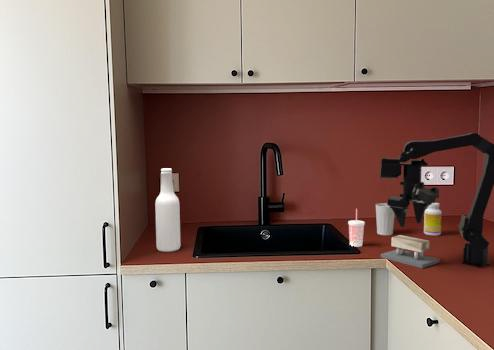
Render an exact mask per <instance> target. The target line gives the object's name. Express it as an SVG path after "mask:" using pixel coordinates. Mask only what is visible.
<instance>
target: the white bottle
mask: <svg viewBox="0 0 494 350" xmlns="http://www.w3.org/2000/svg"><path fill="white" fill-rule="evenodd" d="M160 171H161V172H160V174H161V175H160V177H161V178H160V192H159V195H158V196H157V197H156V199H155V202H154V205H155V238H156V239H155V240H156V241H155V243H156V249H157V250H158V251H159V252H164V253H166V252H167V253H169V252H176V251H178V250H180V248H181V246H182V245H181V216H180V213H181V211H180V210H181V208H180V204H181V203H180V200H179V197H178V196H177V195H176V193H175V192H174V183H173V169H172V168H168V167H167V168H166V167H165V168H161V169H160Z"/></svg>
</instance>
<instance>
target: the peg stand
mask: <svg viewBox="0 0 494 350" xmlns="http://www.w3.org/2000/svg"><path fill="white" fill-rule="evenodd" d="M395 248H396V249H393V250H390V251H386V252H384V253H380V258H381V259H386V260H389V261H392V262H396V263H400V264H404V265H408V266H411V267H415V268H419V269H424V268H428V267H430V266H434V265H436V264H440V258H437V257H433V256H429V255H425V254H424V252H417V251H409V250H406V249H403V248H398V247H395Z"/></svg>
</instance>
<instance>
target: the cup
mask: <svg viewBox="0 0 494 350" xmlns="http://www.w3.org/2000/svg"><path fill="white" fill-rule="evenodd" d="M375 215H376V216H375V217H376V219H375V220H376V233H377V235H380V236H391V235H393V234H394V225H395V224H394V223H395V214H394V212H393V210H392V208H390V206H388V205H387V202H385V203H383V202H382V203H376V204H375Z"/></svg>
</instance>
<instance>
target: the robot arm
mask: <svg viewBox="0 0 494 350" xmlns="http://www.w3.org/2000/svg"><path fill="white" fill-rule="evenodd" d="M471 146H472V147H473V148H474V149H476V150H478V151H479V152H480V153H482V154H483V160H482V161H483V163H482V165H483V166H482V167H483V170H482V174H481V175H480V176H481V177H480V180H479V182H478V185H477V189H476V192H475V194H474V197H473V201H472V204H471V207H470V209H469V212H468V213H467V215H464V214H461V215H460V216H461V217H460V222H459V224H458V225H457V227H459V234H460V235H461V236H462V238H463V240H465V241H466V243H464V247H463V249H462V261H461V264H465V265H469V266H472V267H478V268H482V267H485V266H487V265H490V264H491V263H490V261H488V258H489V257H488V256H489V245H490V242H489V241H488V240H487V239H486V238H485V236H484V235H483V230H484V229H483V228H484V215H485V212H486V209H487V206H488V203H489V200H490V197H491V194H492V191H493V188H494V143H493V142H491V141H489V140H487V139H486V138H484V137H482V136H481V135H480V134H478V133H477V132H470V133H466V134H461V135H455V136H450V137H445V138H439V139H433V140H410V141H408V142H406V143H405V144H404V146H403V151H402V153H401V154H399V156H398V157H397V158H387V157H382V158H381V159H380V160H381V164H380V171H379V172H380V173H379V174H380V175H379V177H380V179H398V178H399V177H401V176H402V181H399V184H400V185H401V186H402V193H399V196H397V195H395V196H389V197H388V198H387V201H386V203H387V205H388V206H390V208H392V210H393V212H394V214H395V215H394V217H395V218H396V220H397V222H398V224H399V227H401V228H404V227H405V224H406V218H407V217H406V215H407V212H408V210H410V204H411V203H412V207H413V211H414V217H415V221H416V223H417V224H421V221H422V220H423V217H424V212H425V210H426V209H427V208H428V206H429V205H431V204H432V203H436V200H437V199H439V198H440V189H439V188H438V187H435V186H434V187H431V188H428V187H425V182H424V181H422V166H423V167H428V166H429V164H428V162H426V160H425V158H423V157H425V156H428V155H431V154H432V153H436V152H441V151H448V150H454V149H458V148H465V147H471ZM417 159H419V160H417ZM409 160H410V162H408V161H409ZM402 167H403V168H402Z"/></svg>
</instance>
